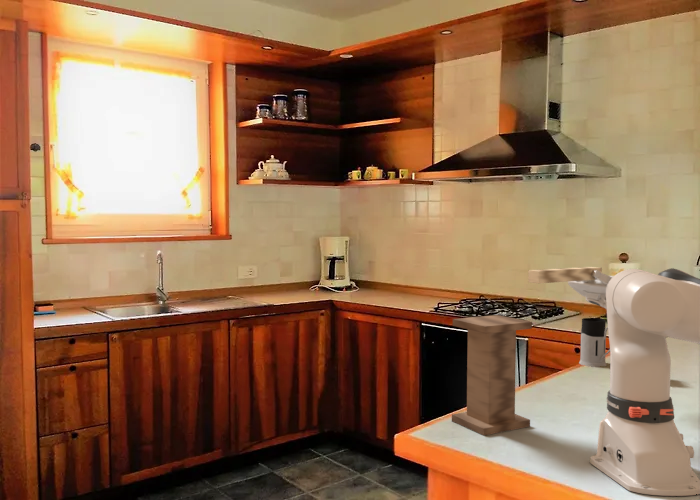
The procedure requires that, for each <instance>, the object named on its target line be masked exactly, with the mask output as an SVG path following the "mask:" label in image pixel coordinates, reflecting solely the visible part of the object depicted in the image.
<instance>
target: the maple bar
mask: <svg viewBox="0 0 700 500" xmlns="http://www.w3.org/2000/svg"><path fill="white" fill-rule="evenodd" d="M592 270H598V271H599V272H601V273H603V272H602V270H603V269H602V267H598V266H597V267H596V266H583V267H581V266H579V267H564V268H546V269H545V268H544V269H529V270H528V274H527V277H528V278H527V279H528V280H527V283H530V284H551V283H554V284H555V283H564V282H567V283H568V281H583V280H597V279H594V278H593V277H592V276H591V273H592Z"/></svg>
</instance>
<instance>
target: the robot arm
mask: <svg viewBox="0 0 700 500" xmlns="http://www.w3.org/2000/svg"><path fill="white" fill-rule="evenodd" d="M591 276H592V277H593V278H594V279H597V280H583V281H568V282H567V284H568V286H569V287H570V288H572V290H574V291H575V292H576V293H578V294H579V295H581V296H582V297H584V298H585V301H587V303H590V304H593V305H595V306H599V307H601V308H603V309H605V310H606V321H607V327H608V330H607V332H608V341H609V349H610V352H609V354H610V356H609V357H610V363H609V366H610V367H609V369H610V370H609V390H608V392H607V396H606V410H608V411H607V413H606V415H605V416H604V417H603V419H602V420H601V421H600V422H599V425H598V429H599V430H598V437H597V450H596V454H594V455H592V456H590V457H589V463H590V464H591V465H592V466H594V467H595V468H596V469H598V470H599V471H601V472H602V473H604V474H605V475H606V476H608V477H609V478H610V479H611V480H613V481H615V482H616V483H617V484H619V485H621V487H623V488H625V489H626V490H627V491H630V492H634V493H638V494H643V495H652V496H663V497H664V496H669V497H670V496H671V497H676V496H677V497H685V496H686V497H687V496H695V495H696V494H697V495H700V478H699V477H698V476H697V474H696V473H695V471H694V470H693V469H692V467H691V459H693V458H694V457H695V450H694V447H693V446H692V445H686V444H685V442H684V434H683V433H680V431H679V429H678V427H677V426H676V423H675V420H674V419H675V412H674V411H675V407H674V404H673V398H672V397H671V366H672V363H671V362H672V360H671V354H670V351H669V346H668V342H667V338H670V339H671V338H672V339H675V340H679V341H684V342H689V343H694V344H698V345H700V278H698V277H696V276H694V275H691V274H689V273H688V272H685V271H684V270H680V269H676V268H674V267H672V268H668V269H664V270H662V271H660V272H659V273H657V274H656V273H652V272H650V271H646V270H644V269H639V268H629V269H623V270H622V271H619V272H618V273H616V274H614V275H608V274H605V273H603V272H602V273H601V272H599V271H598V270H592V273H591ZM697 495H696V496H697Z"/></svg>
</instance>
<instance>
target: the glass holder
mask: <svg viewBox="0 0 700 500" xmlns="http://www.w3.org/2000/svg"><path fill="white" fill-rule="evenodd" d="M606 321H607V319H605V318H604V319H603V318H598V317H597V318H596V317H584V318H581V328H580V329H581V330H580V358H579V359H580V360H579V362H578V364H580V365H581V366H584V365H585V366H586V367H590V366H591V367H592V368H594V367H595V368H600V366H604V367H607V363H606V356H607V355H608V354H610V348H609V349H608V351H606V349H607V348H606V346H607V345H606V344H607V339H606V338H607V332H608V326H607V325H606Z"/></svg>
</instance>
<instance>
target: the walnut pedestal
mask: <svg viewBox="0 0 700 500" xmlns="http://www.w3.org/2000/svg"><path fill="white" fill-rule="evenodd" d="M532 325H533V323H532V321H529V320H525V319H521V318H514V317H509V316H504V315H499V314H495V315H494V314H493V315H484V316H471V317H463V318H462V317H461V318H452V327H457V328H462V329H463V330H464V329H466V330H467V356H466V357H467V358H466V359H467V360H466V361H467V365H466V367H467V369H466V411H465V412H460V413H459V412H458V413H453V414H451V422H454V423H455V424H457V425H459V426H462V427H464V428H466V429H468V430H469V431H470V430H471V431H472V432H474V433H477V434H480V435H482V436H489V435H493V434H498V433H503V432H509V431H513V430H518V429H523V428H529V427H531V419H529V418H527V417H525V416H522V415H519V414H517V413H516V365H517V364H516V360H517V355H516V353H517V352H516V351H517V350H516V349H517V348H516V347H517V331H520V330H532V329H533V328H532Z"/></svg>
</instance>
